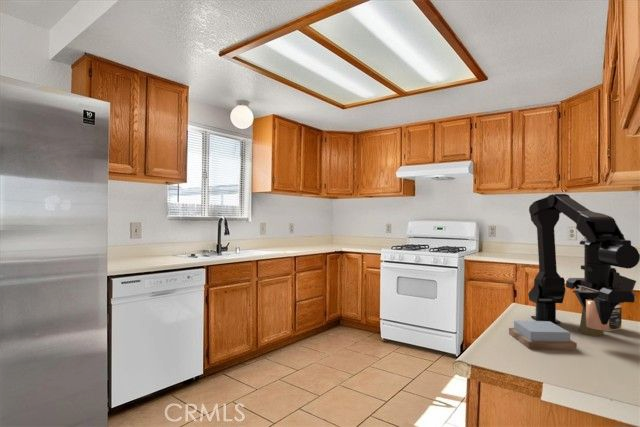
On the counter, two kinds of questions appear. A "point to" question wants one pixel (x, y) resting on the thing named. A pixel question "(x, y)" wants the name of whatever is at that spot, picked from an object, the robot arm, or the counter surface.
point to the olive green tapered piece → (587, 330)
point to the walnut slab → (542, 343)
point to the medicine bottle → (615, 319)
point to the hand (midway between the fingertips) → (597, 321)
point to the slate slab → (542, 331)
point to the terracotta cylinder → (594, 316)
